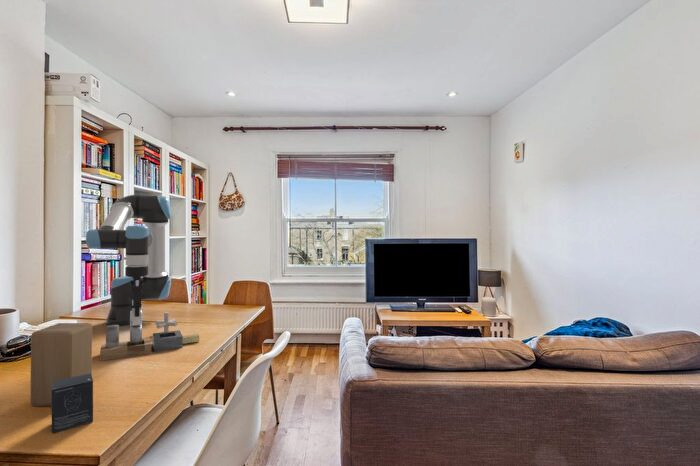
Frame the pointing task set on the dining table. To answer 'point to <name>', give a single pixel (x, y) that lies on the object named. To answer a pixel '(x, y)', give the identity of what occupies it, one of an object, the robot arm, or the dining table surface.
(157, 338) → the socket
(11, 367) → the dining table surface
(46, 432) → the dining table surface
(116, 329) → the rack
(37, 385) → the block
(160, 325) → the pipe connector
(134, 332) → the grey metal bar
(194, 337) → the olive rectangular bar
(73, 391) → the box
